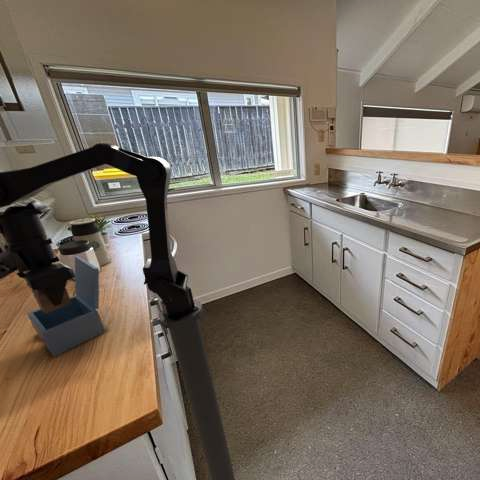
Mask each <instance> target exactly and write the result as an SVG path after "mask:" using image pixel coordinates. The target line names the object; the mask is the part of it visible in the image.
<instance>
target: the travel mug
mask: <svg viewBox="0 0 480 480" xmlns="http://www.w3.org/2000/svg"><path fill="white" fill-rule="evenodd" d="M68 224H69V225H70V226H71V231H70V233H71V235H72V238H73V240H74V241H80V240H87V241H89V243H90V246H91V248H93V250H94V252H95V255H96V258H97V261H98V264H99V266H100V267H102V266H103V267H104V266H105V265H107V264H109V263H110V262H111V259H110V256H109V253H108V250H107V248H106V247H105V244H104V241H103V238H102V235H101V233H102V232H100V229H99V227H98V226H99V225H98V226H97V225H96V224H95V219H94V218H91V217H87V218H86V217H85V218H79V219H75V220H71V221H69V222H68Z"/></svg>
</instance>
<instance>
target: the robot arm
mask: <svg viewBox="0 0 480 480" xmlns="http://www.w3.org/2000/svg"><path fill="white" fill-rule="evenodd" d="M104 166H110V167H112V168H115V169H117V170H118V171H121V172H123V173H126V174H128V175H131V176H134V177H135V178H136V180H137V183H138V186H139V189H140V191H141V193H142V195H143V197H144V199H145V206H146V216H147V226H148V237H149V247H150V255H151V257H150V258H147V260H146V262H145V263H144V265H143V266H142V272H143V276H144V282H143V285H147V289H148V290H149V291H150V292H152V293H154V294H155V295H157V296H158V297H159V299H160V306H161V309H162V310H163V314H164V315H165V316H167V317H168V318H171V319H172V320H174V321H177V320H179V319H181V318H183V317H184V316H186V315H188V314H190V313H192V312H193V311H195V310H197V309H198V306H196V305H194V301H193V300H194V297H193V293H192V287H191V286H189V285H188V281H189V280H188V279H189V275H188V274H187V273H184V272H182V270H181V271H180V270H179V269H178V267H177V264H176V261H175V258H174V256H173V254H172V251H171V237H170V225H169V210H168V193H169V189H170V184H171V177H172V176H171V175H172V168H171V165H170V163H168V161H167V160H166V159H163V158H161V157H159V156H145V155H143V154H140V153H137V152H133V151H131V150H128V149H124V148H122V147H120V146H117V145H116V144H113V143H109V142H99V143H96V144H94V145H93V146H91V147H88V148H86V149H82V150H79V151H76V152H73V153H69V154H67V155H63V156H61V157H59V158H55V159H52V160H50V161H49V160H48V161H46V162H43V163H39V164H38V165H34V166H32V167H27V168H19V169H13V170H7V171H1V172H0V209H2V208H5V207H6V208H5V210H4V211H0V235H1V236H2V237H3V239H4V241H5V242H4V244H3V249H4V250H5V251H3V252H0V280H2V279H4V278H6V277H7V276H9V275H11V274H13V273H14V272H17V271H18V272H17V273H16V274H15V275H16V276H18V277H19V278H20V279H24V280H25V281H26V286H28V287H29V288H30V289H31V291H32V290H39V289H41V290H42V291H43V292H44V293H45V295H46V296H47V297H48V298H49V300H50V301H51V302H52V303H53V304H54V306H57V305H60V304H61V303H62V299H63V295H64V291H65V288H67V283H68V281H70V280H74V279H73V278H74V277H75V275H74V272H73V269H72V268H70V267H69V266H67V265H64V264H63V263H62V262H60V261H61V259H60V257H59V256H58V255H56V253H55V252H54V249H53V247H52V244H53V241H52V238H50V237H48V234H47V232H46V230H45V227H44V224H43V222H42V220H41V217H40V215H42V214H44V213H48V212H50V211H51V210H52V208H51V207H50V206H48V205H45V204H42V203H41V202H39V201H38V200H32V201H29V202H28V203H27V204H26V205H13V204H17V203H20V202H24V201H27V200H29V199H31V198H33V197H35V196H37V195H38V194H40V193H42V192H43V191H45V190H46V189H47V188H49V187H51V186H52V185H53V184H56V183H58V182H62V181H64V180H68V179H70V178H73V177H76V176H79V175H82V174H84V173H87V172H90V171H92V170H95V169H98V168H101V167H104ZM12 205H13V206H12ZM162 310H161V311H162Z"/></svg>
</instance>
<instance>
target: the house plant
mask: <svg viewBox="0 0 480 480" xmlns="http://www.w3.org/2000/svg"><path fill="white" fill-rule="evenodd" d="M101 215H102V213H99V215H98V216H97V217H96V216H95V214H92V213H89V218H94V219H95V224H96V225H97V226H98V227H99V229H100V232H101V235H102V238H103V241H104V244H108V243H110V236H109V232H106V229H108V228H113V227H114V225H113V223H111V222H114V221H116V219H112V220H108V219H109V218H110V216H109V215H110V214H106V215H104V216H103V218H101V220H100V216H101ZM107 216H108V217H107ZM99 220H100V221H99ZM107 220H108V221H107ZM109 223H111V224H109ZM110 244H111V243H110ZM110 244H109V245H108V246H105V247H106V249H108V248H110Z"/></svg>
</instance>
